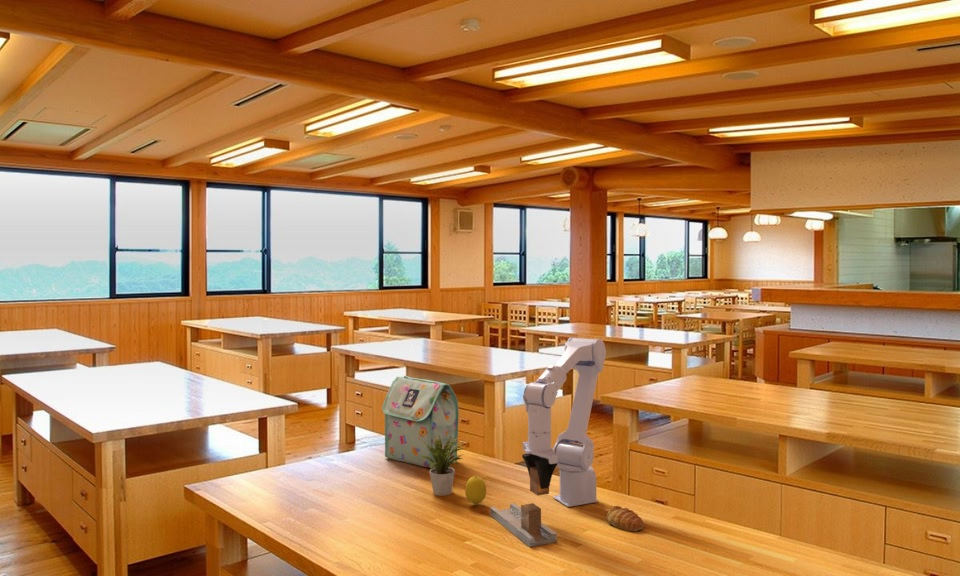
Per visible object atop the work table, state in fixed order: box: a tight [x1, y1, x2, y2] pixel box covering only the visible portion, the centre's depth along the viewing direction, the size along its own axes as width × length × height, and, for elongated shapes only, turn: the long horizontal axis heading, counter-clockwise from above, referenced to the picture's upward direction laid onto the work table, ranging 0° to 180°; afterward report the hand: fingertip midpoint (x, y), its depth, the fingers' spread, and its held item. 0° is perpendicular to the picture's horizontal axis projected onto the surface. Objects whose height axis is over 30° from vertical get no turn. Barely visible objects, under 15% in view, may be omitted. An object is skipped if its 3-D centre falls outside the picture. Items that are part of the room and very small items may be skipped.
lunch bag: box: [381, 375, 460, 469], centre depth 227 cm, size 23×16×27 cm
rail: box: [489, 502, 558, 548], centre depth 169 cm, size 7×22×7 cm, turn 23°
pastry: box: [605, 505, 645, 532], centre depth 170 cm, size 9×7×4 cm
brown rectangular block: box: [529, 466, 550, 496], centre depth 174 cm, size 3×4×6 cm
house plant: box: [421, 435, 469, 497], centre depth 194 cm, size 14×14×16 cm
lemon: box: [464, 475, 487, 506], centre depth 185 cm, size 6×6×8 cm
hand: (539, 485), depth 174 cm, fingers closed on brown rectangular block, 4 cm apart
